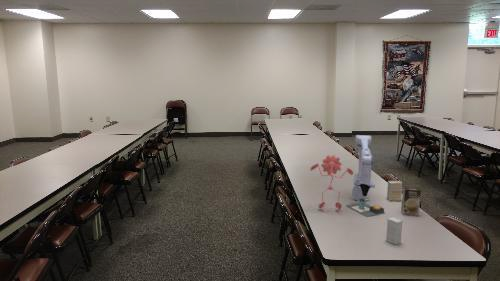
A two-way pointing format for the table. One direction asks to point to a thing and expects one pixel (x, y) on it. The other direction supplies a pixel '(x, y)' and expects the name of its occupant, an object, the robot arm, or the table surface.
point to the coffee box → (410, 201)
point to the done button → (376, 207)
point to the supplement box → (394, 191)
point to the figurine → (331, 167)
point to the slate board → (366, 210)
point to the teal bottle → (361, 203)
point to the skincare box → (394, 230)
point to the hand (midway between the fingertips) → (364, 195)
